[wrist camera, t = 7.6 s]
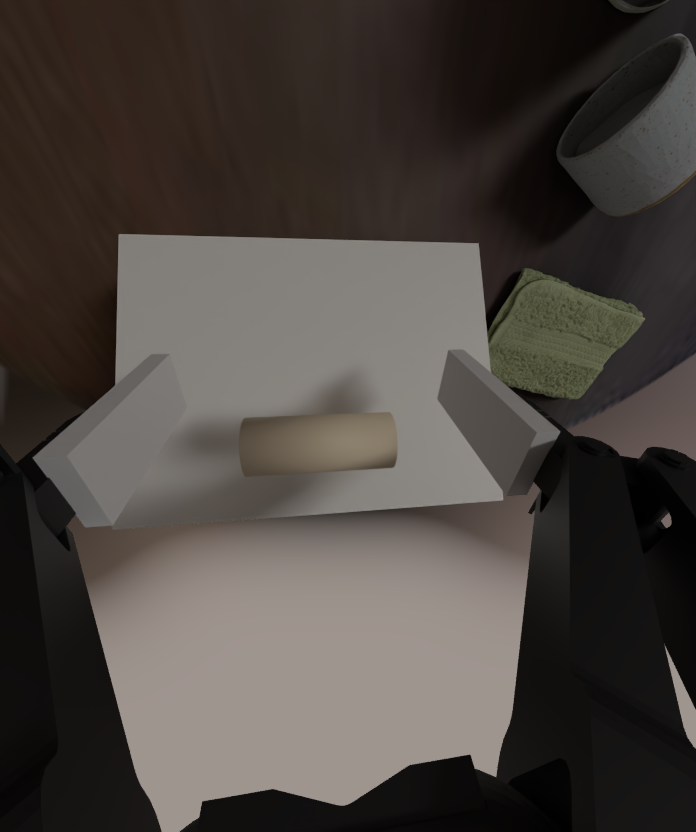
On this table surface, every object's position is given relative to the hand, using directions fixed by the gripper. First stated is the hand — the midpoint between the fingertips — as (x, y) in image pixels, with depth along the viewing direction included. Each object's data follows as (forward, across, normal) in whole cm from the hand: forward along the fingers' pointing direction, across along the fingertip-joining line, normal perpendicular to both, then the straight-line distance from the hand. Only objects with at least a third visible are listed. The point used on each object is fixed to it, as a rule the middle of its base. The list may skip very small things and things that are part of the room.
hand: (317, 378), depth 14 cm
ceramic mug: (+20, +26, +13) cm, 35 cm away
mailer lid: (+6, 0, -3) cm, 6 cm away
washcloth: (+20, +28, -5) cm, 35 cm away
